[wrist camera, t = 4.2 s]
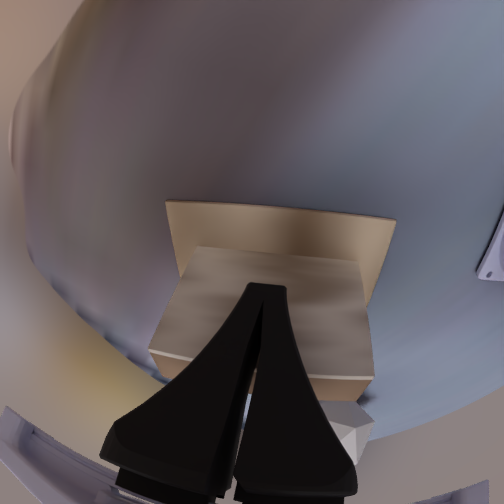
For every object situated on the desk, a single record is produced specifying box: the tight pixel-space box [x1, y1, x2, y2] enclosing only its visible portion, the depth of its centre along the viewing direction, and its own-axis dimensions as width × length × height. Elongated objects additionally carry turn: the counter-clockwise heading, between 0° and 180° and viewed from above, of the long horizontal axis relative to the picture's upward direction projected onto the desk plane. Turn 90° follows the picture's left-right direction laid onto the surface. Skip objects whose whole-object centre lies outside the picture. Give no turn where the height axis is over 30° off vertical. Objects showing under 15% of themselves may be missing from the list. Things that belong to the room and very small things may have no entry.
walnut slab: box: [148, 246, 375, 401], centre depth 13 cm, size 9×2×7 cm, turn 90°
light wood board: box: [165, 200, 396, 308], centre depth 19 cm, size 12×16×1 cm
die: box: [318, 400, 375, 465], centre depth 23 cm, size 8×9×10 cm
